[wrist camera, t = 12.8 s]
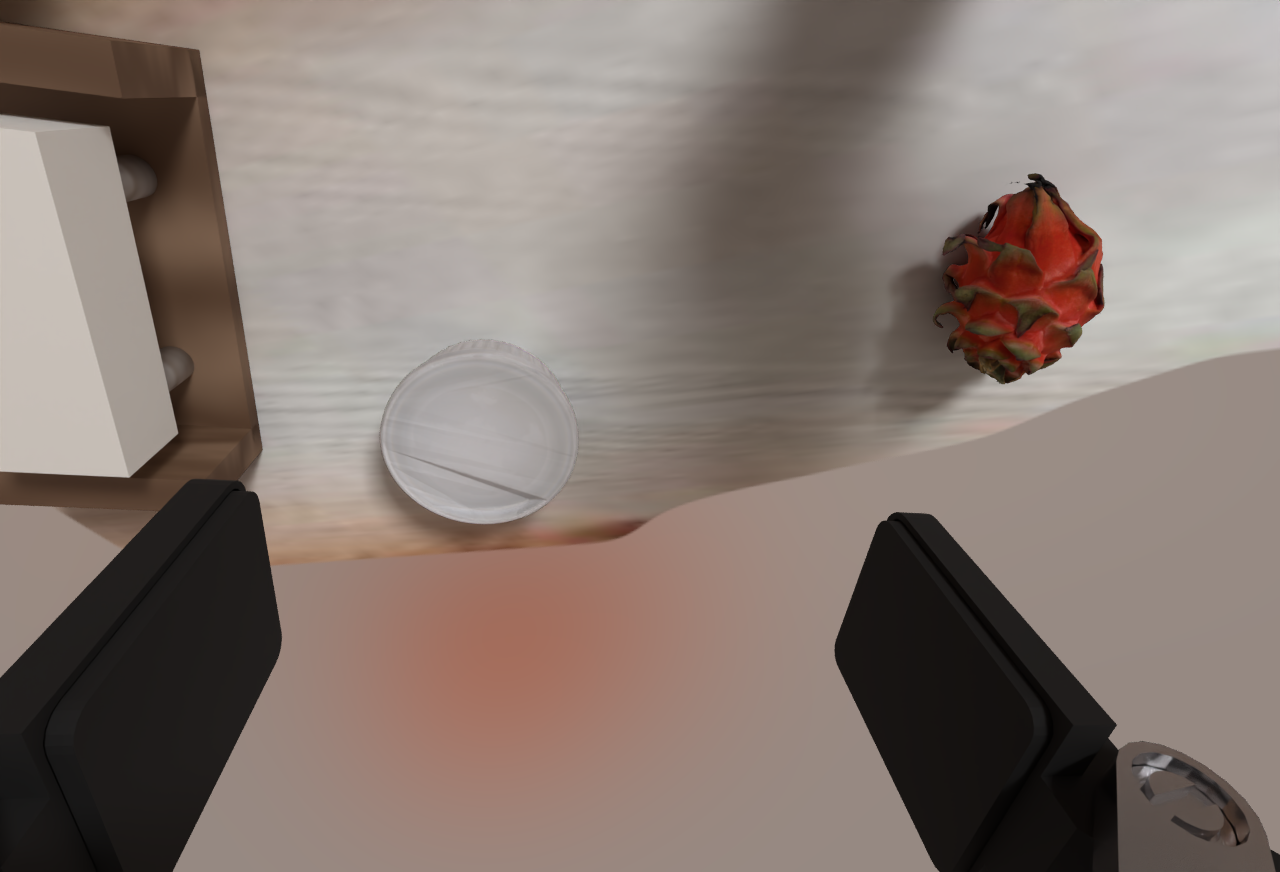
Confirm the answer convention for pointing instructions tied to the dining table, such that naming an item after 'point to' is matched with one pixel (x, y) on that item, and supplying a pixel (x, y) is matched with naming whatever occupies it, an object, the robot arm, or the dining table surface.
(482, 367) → the ramekin
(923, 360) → the dining table surface
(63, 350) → the shelf board
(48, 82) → the peg frame
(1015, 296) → the dragon fruit
